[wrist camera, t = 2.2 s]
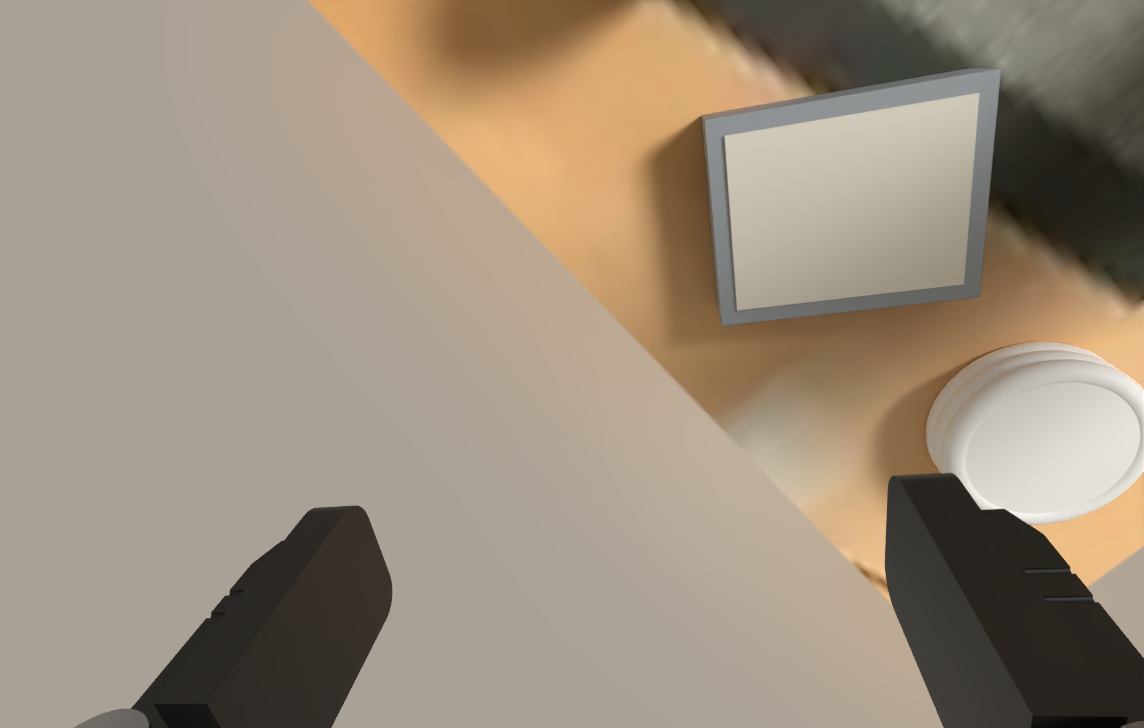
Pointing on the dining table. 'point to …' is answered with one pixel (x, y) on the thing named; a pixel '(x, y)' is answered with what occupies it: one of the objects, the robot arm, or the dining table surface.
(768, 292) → the dock
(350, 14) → the dining table surface
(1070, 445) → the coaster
